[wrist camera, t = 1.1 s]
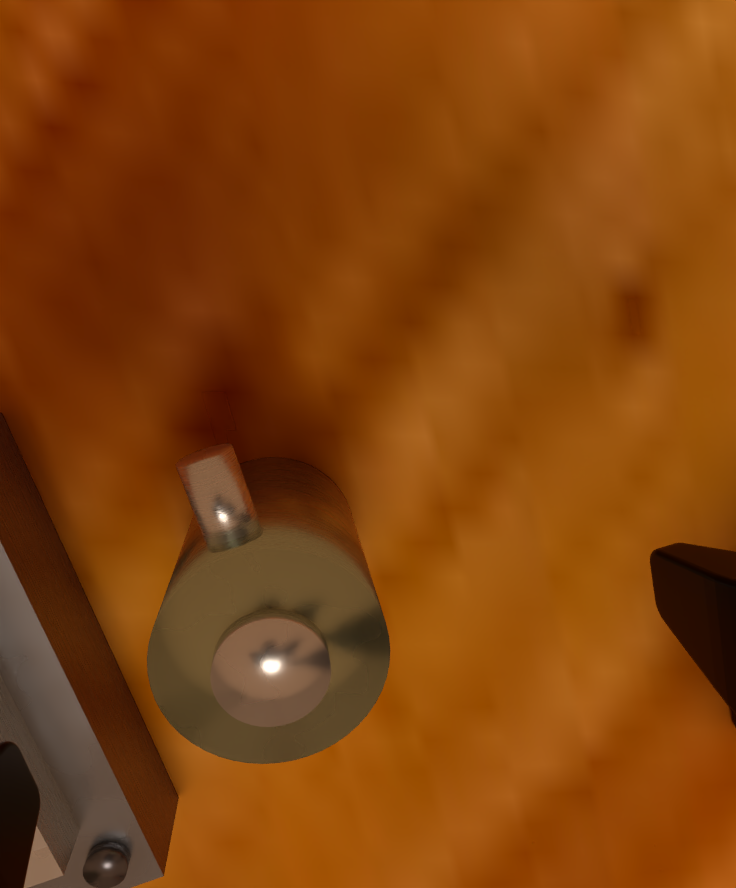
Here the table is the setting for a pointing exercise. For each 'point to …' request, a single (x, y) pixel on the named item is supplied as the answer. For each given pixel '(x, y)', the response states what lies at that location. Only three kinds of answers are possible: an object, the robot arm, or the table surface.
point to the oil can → (267, 613)
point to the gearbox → (72, 711)
